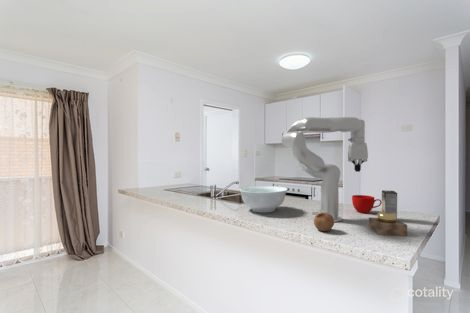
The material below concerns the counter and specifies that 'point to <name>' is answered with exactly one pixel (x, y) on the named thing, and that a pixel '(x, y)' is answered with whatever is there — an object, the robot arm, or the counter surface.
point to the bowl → (263, 197)
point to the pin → (386, 217)
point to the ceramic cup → (364, 203)
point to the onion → (323, 221)
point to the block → (388, 227)
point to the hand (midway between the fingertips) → (357, 171)
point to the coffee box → (389, 202)
